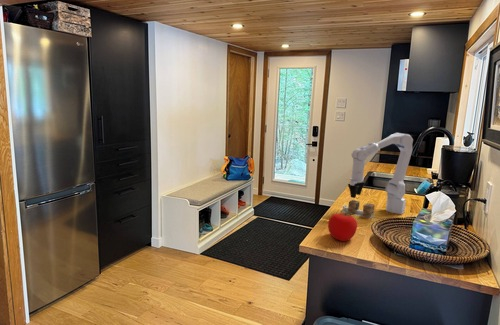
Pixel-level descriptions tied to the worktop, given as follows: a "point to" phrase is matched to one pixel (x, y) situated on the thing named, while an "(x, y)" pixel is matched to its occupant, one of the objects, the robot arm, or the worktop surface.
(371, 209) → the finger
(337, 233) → the red apple
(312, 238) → the worktop surface
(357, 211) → the rail
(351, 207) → the brown notched block
